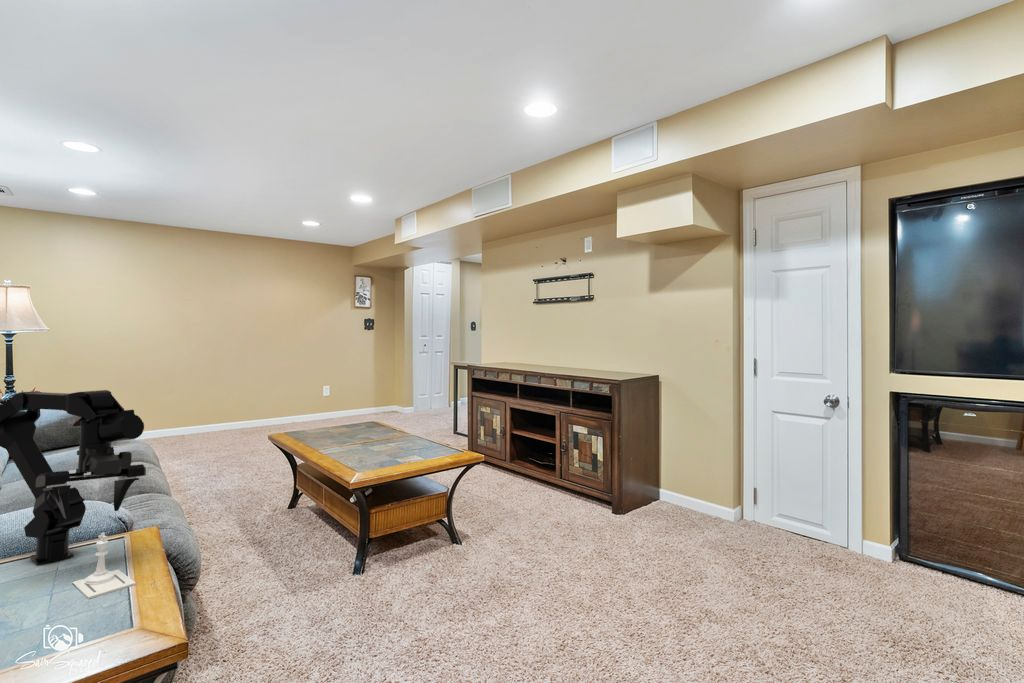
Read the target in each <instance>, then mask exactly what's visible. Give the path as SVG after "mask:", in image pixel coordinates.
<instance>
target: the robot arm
mask: <svg viewBox="0 0 1024 683" xmlns="http://www.w3.org/2000/svg"><path fill="white" fill-rule="evenodd" d="M25 409H26V410H25ZM41 410H48V411H49V410H50V411H51V410H52V411H63V412H66V413H67V414H68V415H71V416H76V417H80V418H79V419H78V420H76V421H75V422H74V423H73V424H72V426H73V427H74V428H80V429H79V430H80V432H79V446H78V448H79V449H78V450H77V451H76V456H78V463H77V465H78V466H77V468H76V469H75V472H74V473H70V472H69V470H62V471H60V470H58V471H54V470H53V468H51V466H50V464H49V463H48V461H47V460H46V457H45V455H44V453H42V451H41V449H40V447H39V445H38V443H37V442H36V441H35V439H34V438H35V433H36V430H37V426H36V422H37V421H38V420H39V419H40V418H41ZM144 430H145V423H144V421H143V419H142V418H141V417H140V416H139V415H137V414H135V410H134V409H125V408H124V407H123V406H122V405H121V404H120V402H118V400H117V399H116V398H115V397H114V396H113V394H112V392H111V391H110V390H107V389H101V390H90V391H89V390H88V391H87V390H86V391H77V392H76V391H75V392H70V393H63V392H45V391H43V392H42V391H40V390H33V391H21V392H20V391H19V392H17V393H15V394H13V395H12V396H11V398H10V399H9V400H8V401H6V402H3V403H2V404H0V447H1V448H3V449H5V450H6V451H7V453H8V455H9V456H10V458H11V459H12V461H13V463H14V464H15V466H16V467H17V470H18V471H19V473H20V475H21V476H22V478H23V480H24V482H25V483H26V485H27V486H28V488H29V490H30V491H31V493H32V495H33V497H34V499H35V501H34V505H33V508H32V514H33V516H34V517H33V518H32V519H31V520H30V521H29V522H28V523H27V524H26V525H25V526H24V528H23V529H24V533H25V537H27V538H34V539H36V544H35V553H34V554H32V555H30V556H29V558H30V560H31V561H32V562H33V563H34V564H35V565H37V566H40V565H44V564H48V563H52V562H58V561H60V560H61V561H62V560H65V559H69V558H72V557H74V552H72V551H71V550H70V549H69V546H70V545H69V544H70V531H71V529H74V528H78V527H81V524H82V521H83V518H84V515H85V514H86V509H87V508H86V507H87V506H86V503H85V502H84V501H85V499H84V498H83V497H82V495H81V494H80V492H79V489H78V488H76V487H71V484H69V485H68V482H69V483H71V482H77V481H87V480H98V479H99V480H100V479H108V478H109V479H110V478H117V479H118V480H114V482H113V483H114V485H113V486H114V487H113V509H114V511H115V512H119V510H120V507H121V505H122V503H123V501H124V499H125V496H126V494H127V492H128V490H129V488H130V487H131V485H133V483H134V482H136V481H139V480H140V477H145V476H146V475H147V469H146V466H145V465H144V464H143V463H142V464H141V463H140V464H132V460H133V458H132V456H133V454H132V452H130V451H120V452H119V453H118V454H115V449H114V446H112V443H114V442H121V441H123V442H124V441H128V440H135V439H137V438H140V437H141V435H142V434H143V433H144ZM131 464H132V465H131ZM88 473H90V474H88Z"/></svg>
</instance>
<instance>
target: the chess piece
mask: <svg viewBox="0 0 1024 683" xmlns="http://www.w3.org/2000/svg"><path fill="white" fill-rule="evenodd" d="M97 537H98V539H100V540H98V541H97V542H96V543H95V544H96V547H97V550H98V551H97V552H95V556H97V557H98V558H97V565H96V568H95V571H93V573H91V574H89V575H88V576H86V581H85V583H86V584H89V585H96V584H102V583H105V582H108V581H110V580H112V579H113V578H114V577H115V575H114V572H112V571H113V570H111V571H110V570H108V569H107V568H106V561H105V560H106V559H105V558H106V557H105V555H108V553H109V552H108V550H106V548H107V546H108V543H109V540H106V539H108V536H107V535H105V532H101V533H100V534H99V535H98V536H97Z"/></svg>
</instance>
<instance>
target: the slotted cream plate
mask: <svg viewBox="0 0 1024 683" xmlns="http://www.w3.org/2000/svg"><path fill="white" fill-rule="evenodd" d="M111 571H112V572H114V575H115V577H114V578H113V579H112V580H110V581H108V582H105V583H102V584H96V585H89V584H86V583H85V581H86V578H87V577H86V578H82V579H78V580H76V581H72V583H73V584H74V585H75V586H76V587H77V588H78V589H79V590H80V591H81V592H82V593H83V594H84V595H85V596H86V597H85V596H84V595H83V594H82V595H83V596H84V597H85V598H87V600H90V598H91V599H93V598H97V597H100V596H102V595H107V594H109V593H113V592H116V591H120V590H123V589H126V588H129V587H132V586H136V584H137V583H136V582H135V581H134V580H133V579H131V578H130V577H129V576H127V575H126V574H125V573H124V572H122V571H121V570H120V569H115V570H111ZM72 583H71V584H72ZM73 584H72V585H73ZM74 585H73V586H74ZM75 586H74V587H75ZM76 587H75V588H76ZM77 588H76V589H77ZM78 589H77V590H78ZM79 590H78V591H79ZM80 591H79V592H80ZM81 592H80V593H81Z"/></svg>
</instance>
